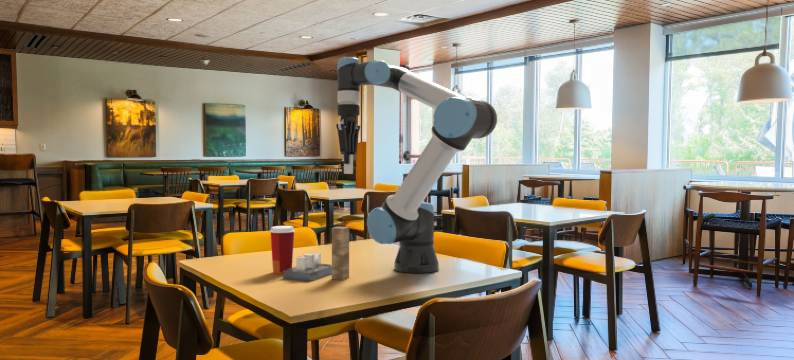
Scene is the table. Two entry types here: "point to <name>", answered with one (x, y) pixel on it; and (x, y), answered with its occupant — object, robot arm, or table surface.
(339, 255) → the mottled brown post
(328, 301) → the table surface
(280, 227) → the coffee cup
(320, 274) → the breaker board
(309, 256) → the breaker paddle
